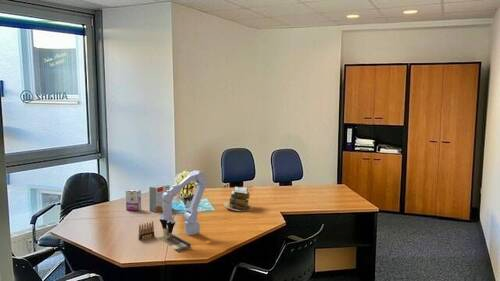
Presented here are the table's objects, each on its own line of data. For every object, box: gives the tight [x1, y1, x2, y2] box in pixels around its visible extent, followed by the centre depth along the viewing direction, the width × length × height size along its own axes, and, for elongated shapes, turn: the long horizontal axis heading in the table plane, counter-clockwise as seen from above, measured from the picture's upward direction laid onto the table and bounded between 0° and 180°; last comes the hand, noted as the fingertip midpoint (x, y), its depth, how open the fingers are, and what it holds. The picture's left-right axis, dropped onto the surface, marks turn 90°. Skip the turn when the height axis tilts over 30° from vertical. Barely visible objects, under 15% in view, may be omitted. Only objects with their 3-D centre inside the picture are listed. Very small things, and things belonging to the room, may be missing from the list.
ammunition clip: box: [137, 220, 155, 241], centre depth 268 cm, size 11×2×12 cm, turn 131°
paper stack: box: [223, 186, 254, 212], centre depth 342 cm, size 25×25×17 cm
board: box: [157, 233, 192, 253], centre depth 262 cm, size 9×26×3 cm, turn 40°
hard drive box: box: [148, 183, 171, 213], centre depth 336 cm, size 16×8×20 cm, turn 143°
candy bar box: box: [125, 189, 142, 212], centre depth 335 cm, size 11×5×16 cm, turn 76°
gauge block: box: [162, 227, 173, 239], centre depth 269 cm, size 4×4×6 cm
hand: (167, 231), depth 269 cm, fingers open, 7 cm apart
